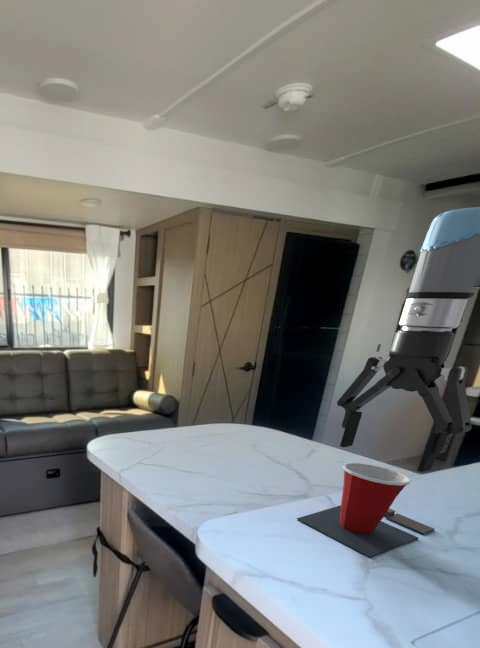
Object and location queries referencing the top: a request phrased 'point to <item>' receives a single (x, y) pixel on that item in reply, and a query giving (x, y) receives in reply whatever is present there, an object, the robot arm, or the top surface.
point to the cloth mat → (365, 544)
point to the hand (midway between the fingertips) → (382, 457)
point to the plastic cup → (368, 495)
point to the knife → (407, 522)
